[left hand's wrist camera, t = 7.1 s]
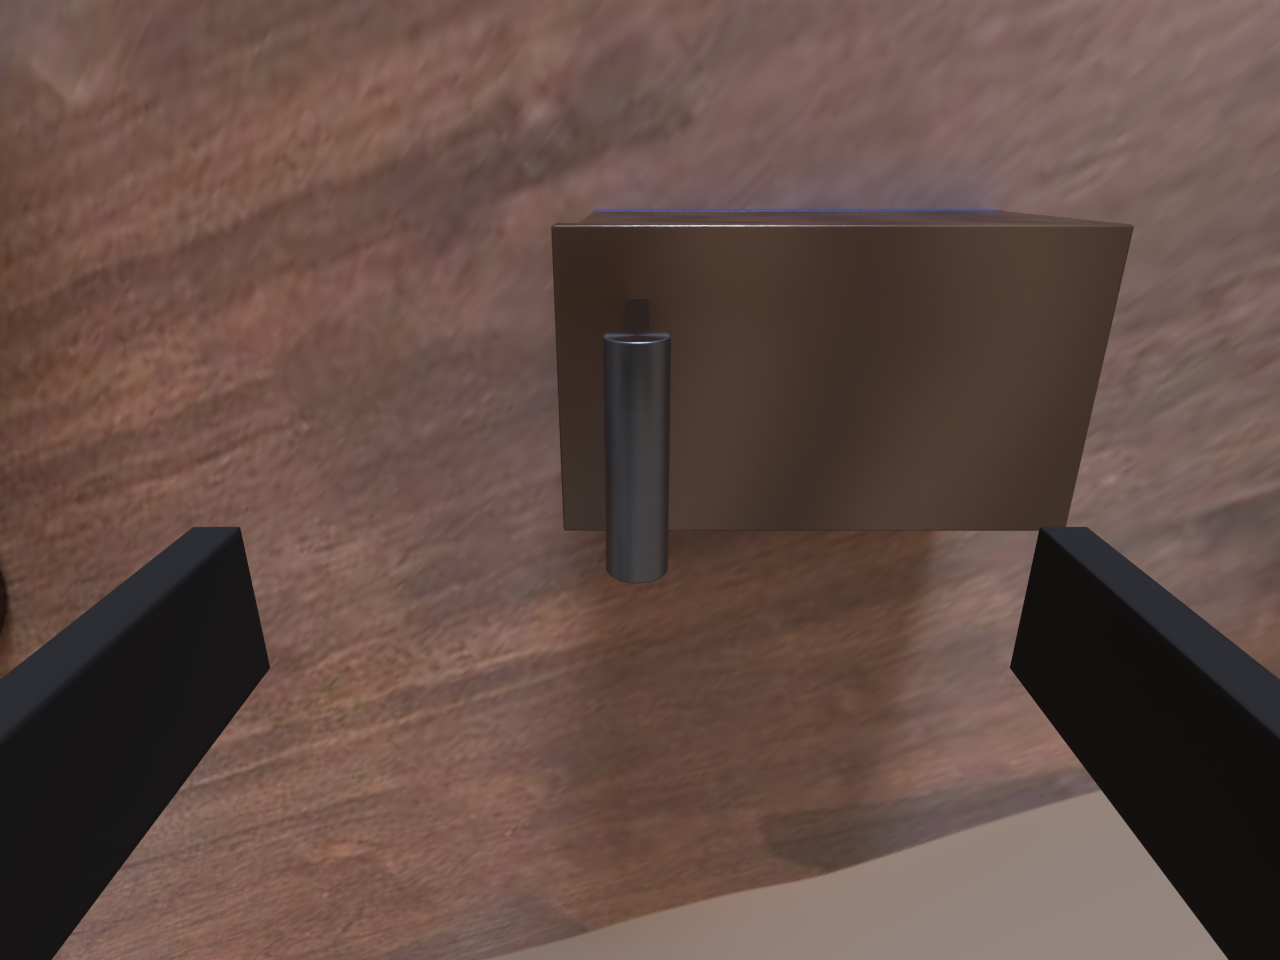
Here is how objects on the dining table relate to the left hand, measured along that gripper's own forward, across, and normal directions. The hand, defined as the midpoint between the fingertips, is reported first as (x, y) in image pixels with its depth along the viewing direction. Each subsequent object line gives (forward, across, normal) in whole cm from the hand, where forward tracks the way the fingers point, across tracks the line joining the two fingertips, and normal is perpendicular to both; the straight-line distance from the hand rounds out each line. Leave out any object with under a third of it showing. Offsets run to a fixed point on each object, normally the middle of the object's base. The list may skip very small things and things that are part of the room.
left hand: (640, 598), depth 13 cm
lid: (+14, -6, 0) cm, 16 cm away
